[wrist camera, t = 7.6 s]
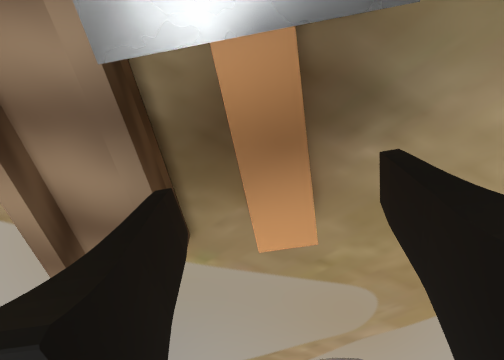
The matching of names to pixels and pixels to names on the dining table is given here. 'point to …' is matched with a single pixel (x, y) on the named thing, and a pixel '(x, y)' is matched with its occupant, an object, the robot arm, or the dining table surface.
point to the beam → (199, 21)
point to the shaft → (269, 134)
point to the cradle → (68, 134)
